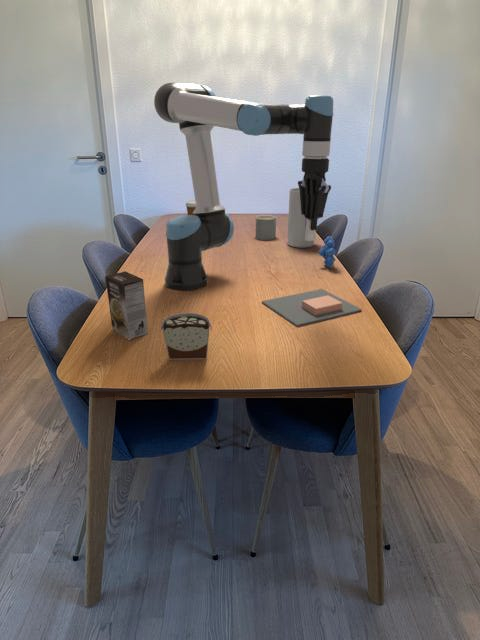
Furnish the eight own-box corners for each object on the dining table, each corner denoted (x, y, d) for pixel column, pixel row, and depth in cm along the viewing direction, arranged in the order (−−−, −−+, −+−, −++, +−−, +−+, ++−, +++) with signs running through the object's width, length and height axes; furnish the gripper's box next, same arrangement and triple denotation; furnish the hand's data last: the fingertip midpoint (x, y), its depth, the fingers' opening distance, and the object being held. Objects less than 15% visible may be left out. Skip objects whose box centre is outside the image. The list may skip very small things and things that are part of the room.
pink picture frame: (328, 295, 138) (342, 302, 132) (327, 301, 139) (341, 309, 133) (302, 300, 134) (315, 308, 128) (301, 307, 135) (315, 315, 129)
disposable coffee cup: (184, 222, 248) (183, 201, 243) (201, 221, 250) (200, 200, 245) (188, 226, 240) (187, 203, 234) (205, 224, 242) (204, 203, 237)
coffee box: (111, 330, 122) (103, 275, 115) (131, 323, 126) (125, 270, 119) (128, 340, 116) (121, 284, 109) (149, 333, 120) (143, 278, 113)
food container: (213, 347, 113) (212, 311, 108) (212, 359, 107) (211, 322, 103) (165, 347, 112) (163, 312, 108) (162, 359, 107) (159, 323, 102)
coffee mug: (276, 239, 212) (277, 219, 208) (256, 240, 212) (257, 219, 207) (272, 233, 224) (273, 213, 220) (253, 233, 224) (253, 214, 219)
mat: (297, 326, 124) (297, 324, 123) (261, 302, 140) (261, 301, 139) (361, 311, 134) (361, 309, 133) (321, 290, 150) (321, 288, 149)
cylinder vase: (285, 247, 200) (287, 191, 189) (289, 240, 211) (291, 187, 200) (312, 249, 197) (316, 192, 187) (315, 242, 208) (319, 188, 198)
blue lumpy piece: (313, 262, 179) (316, 233, 174) (330, 261, 180) (332, 233, 175) (320, 271, 169) (322, 240, 164) (337, 270, 169) (340, 240, 164)
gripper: (341, 158, 118) (333, 243, 128) (312, 155, 129) (307, 234, 138) (319, 159, 115) (312, 246, 125) (291, 156, 125) (287, 236, 135)
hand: (310, 239), depth 132 cm, fingers closed
